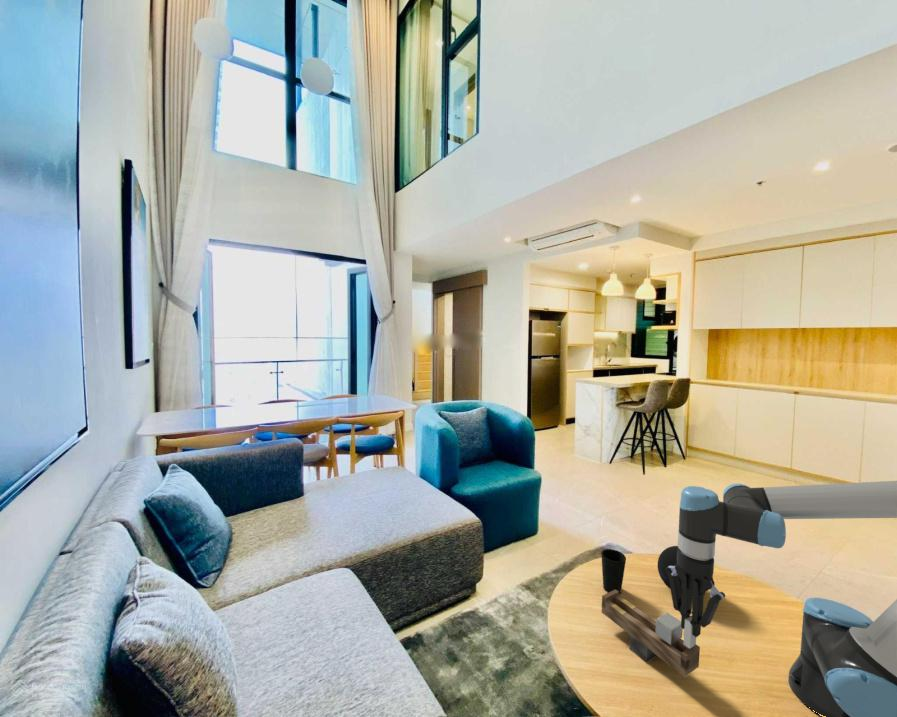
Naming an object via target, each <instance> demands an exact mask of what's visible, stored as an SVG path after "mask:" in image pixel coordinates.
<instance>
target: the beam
mask: <svg viewBox="0 0 897 717" xmlns="http://www.w3.org/2000/svg"><path fill="white" fill-rule="evenodd" d="M601 613H602V615H604V616H606V617H607V618H608V619H609V620H610V621H612V622H613V623H614V624H616V625H617V626H618V627H620V628H621V629H623V630H624V632H626V633H627V634H629V648H628V649H629V650H630V651H631V652H632V653H634V654H635V655H636V656H637V657H638V658H640V659H641V660H642V661H644V662H645V663H646V664H647V663H649V662H650V661H651V660H654V659H655V658H656V657H658V658H660V659H661V660H662V661H664V662H665V663H666V664H667V665H669V666H670V667H672V668H673V669H674V670H675V671H677V672H678V673H679V674H681V675H682V676H683V677H684V678H686V677H687V676H690V674H691V673H693V672H694V671H695V670H696V669H698V668H699V667H700V652H701V651H700V650H701V649H700V648H701V647H700V646H699V645H698V644H696V645H694V646H693V647H692V648H690V649H689V648H688V647H686V646H685V645H684V644H683V643H684V639H682V638H681V639H679V640H678V641H677V647H676V648H674V647H673V646H671V645H670V644H669V643H667V642H666V641H665V640H663V639H662V638H660V637H659V636H658V635H656V634H655V632H656V619H653V618H652V617H650V616H649V615H647V614H646V613H645V612H643V611H642V610H640V609H639V608H637V606H635V605H633V604H632V603H631V602H629V601H628V600H627V599H625V598H623V597H621V596H620V594H619V591H617V590H616V589H615V590H613V591H611V592H609V593H608V592H606V593H604V594H603V595H602V596H601Z"/></svg>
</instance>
